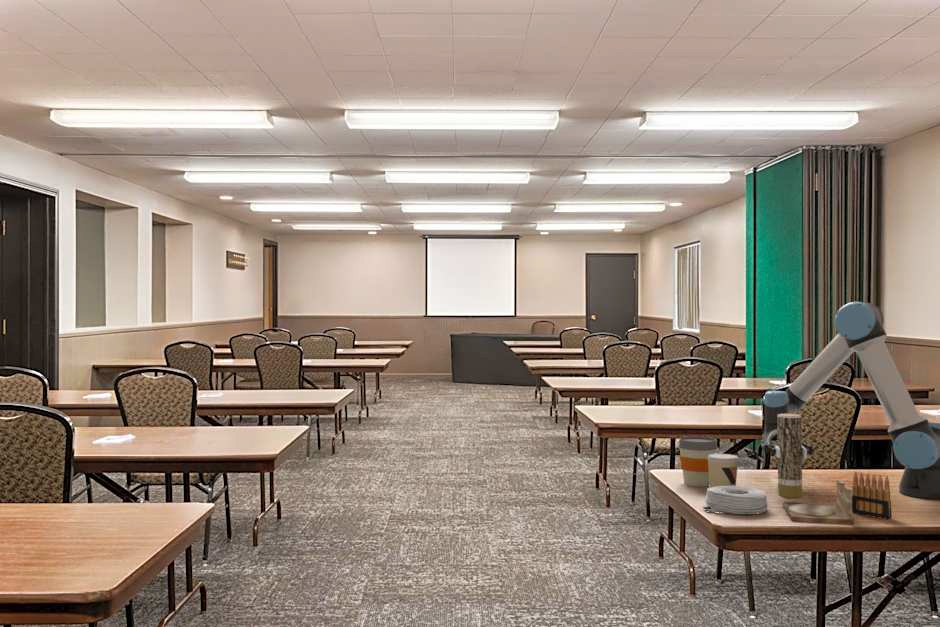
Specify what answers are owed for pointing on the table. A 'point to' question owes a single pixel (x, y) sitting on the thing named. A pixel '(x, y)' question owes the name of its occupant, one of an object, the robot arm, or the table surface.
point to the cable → (735, 500)
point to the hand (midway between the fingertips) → (792, 453)
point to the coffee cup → (722, 470)
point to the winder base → (825, 509)
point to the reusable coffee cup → (696, 459)
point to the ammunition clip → (871, 497)
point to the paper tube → (789, 456)
